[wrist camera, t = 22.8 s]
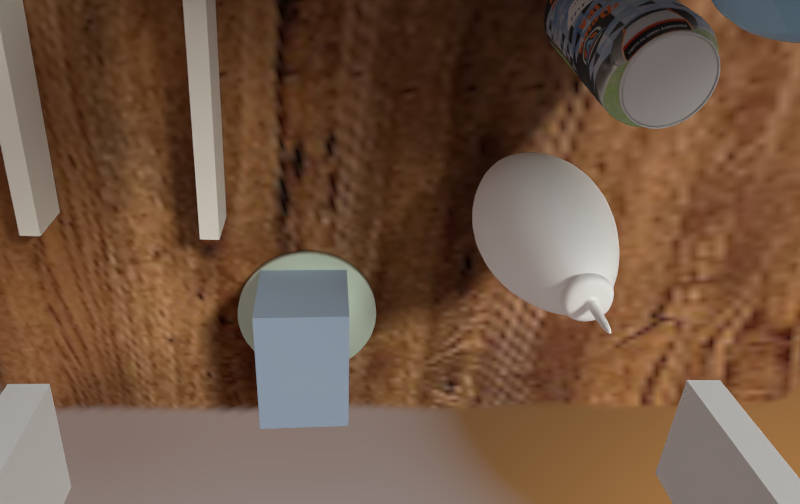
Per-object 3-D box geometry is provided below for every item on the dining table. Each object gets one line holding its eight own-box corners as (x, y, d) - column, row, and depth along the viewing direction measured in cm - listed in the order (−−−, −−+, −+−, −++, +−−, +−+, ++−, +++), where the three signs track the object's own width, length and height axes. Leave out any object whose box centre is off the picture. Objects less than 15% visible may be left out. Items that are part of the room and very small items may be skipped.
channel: (-7, -36, 37) (-36, -29, 34) (214, -21, 39) (205, -13, 36) (40, 211, 44) (19, 235, 41) (226, 216, 46) (219, 239, 43)
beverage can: (626, -59, 40) (734, -40, 30) (644, 60, 44) (746, 114, 33) (525, -22, 41) (596, 9, 30) (550, 93, 44) (622, 156, 34)
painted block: (260, 270, 47) (252, 318, 42) (346, 269, 48) (349, 316, 43) (266, 373, 51) (259, 428, 46) (345, 371, 52) (348, 425, 47)
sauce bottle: (549, 240, 49) (656, 406, 33) (446, 226, 48) (506, 392, 32) (583, 139, 46) (720, 270, 30) (473, 120, 44) (556, 247, 29)
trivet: (236, 249, 47) (234, 254, 46) (379, 251, 48) (380, 256, 48) (241, 364, 52) (240, 371, 51) (371, 364, 53) (372, 370, 52)
